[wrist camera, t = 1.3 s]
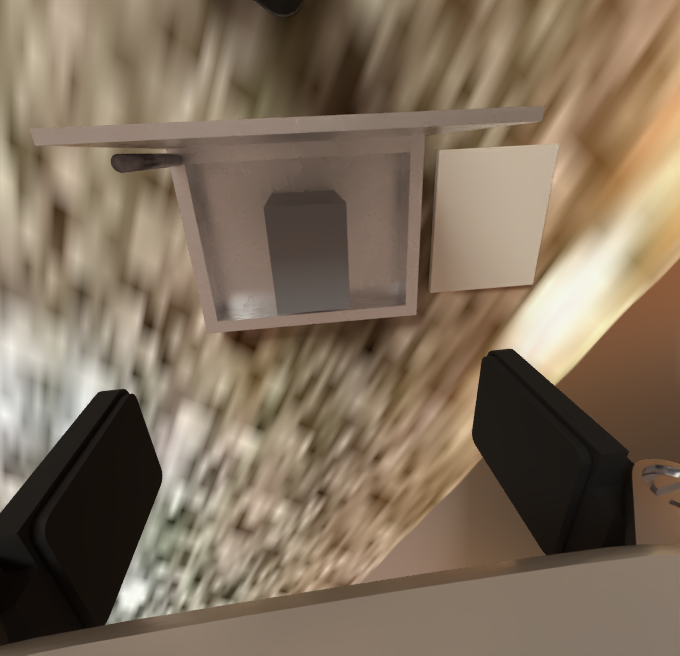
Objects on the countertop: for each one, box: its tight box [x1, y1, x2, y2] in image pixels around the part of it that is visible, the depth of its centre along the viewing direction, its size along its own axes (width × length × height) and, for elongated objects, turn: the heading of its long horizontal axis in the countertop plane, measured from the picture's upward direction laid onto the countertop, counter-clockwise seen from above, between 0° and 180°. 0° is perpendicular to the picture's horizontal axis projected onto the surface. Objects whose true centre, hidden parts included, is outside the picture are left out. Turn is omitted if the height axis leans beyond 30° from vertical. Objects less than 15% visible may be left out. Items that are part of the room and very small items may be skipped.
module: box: [263, 190, 350, 314], centre depth 27 cm, size 5×7×8 cm
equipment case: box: [29, 106, 545, 333], centre depth 24 cm, size 18×14×17 cm
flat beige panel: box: [428, 144, 559, 293], centre depth 32 cm, size 10×12×1 cm
